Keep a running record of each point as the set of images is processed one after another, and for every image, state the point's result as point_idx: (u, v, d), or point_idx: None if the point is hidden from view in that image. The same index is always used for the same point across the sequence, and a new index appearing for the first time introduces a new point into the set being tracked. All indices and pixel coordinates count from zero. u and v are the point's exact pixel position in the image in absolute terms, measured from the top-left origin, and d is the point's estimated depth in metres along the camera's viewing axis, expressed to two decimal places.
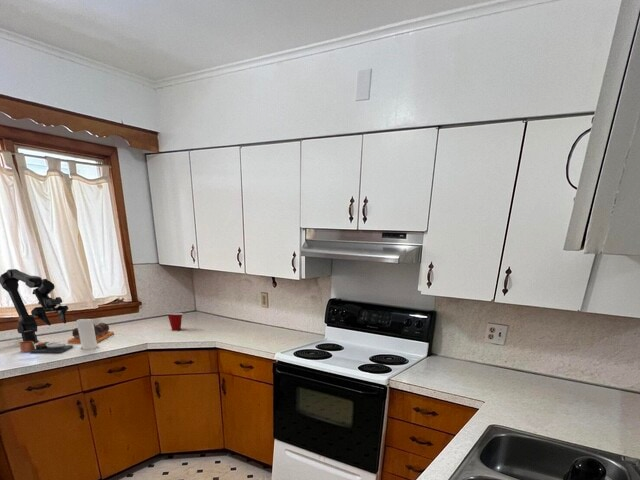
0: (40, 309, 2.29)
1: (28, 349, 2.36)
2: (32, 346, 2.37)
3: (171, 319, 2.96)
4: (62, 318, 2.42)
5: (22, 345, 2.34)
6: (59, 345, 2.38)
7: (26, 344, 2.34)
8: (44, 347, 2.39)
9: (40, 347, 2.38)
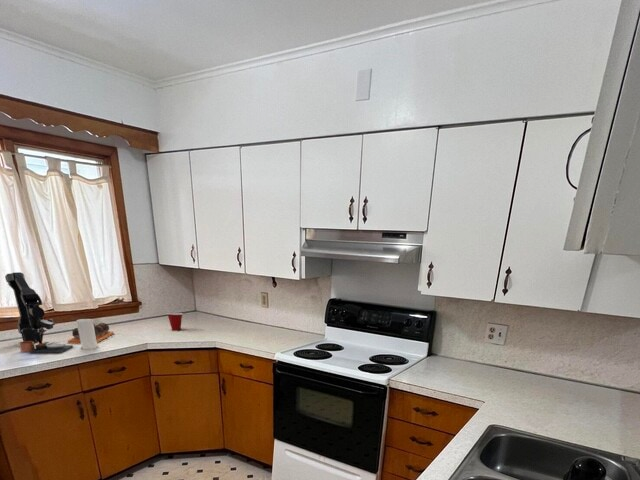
0: (35, 331, 2.30)
1: (28, 349, 2.36)
2: (32, 346, 2.37)
3: (171, 319, 2.96)
4: None
5: (22, 345, 2.34)
6: (59, 345, 2.38)
7: (26, 344, 2.34)
8: (44, 347, 2.39)
9: (40, 347, 2.38)
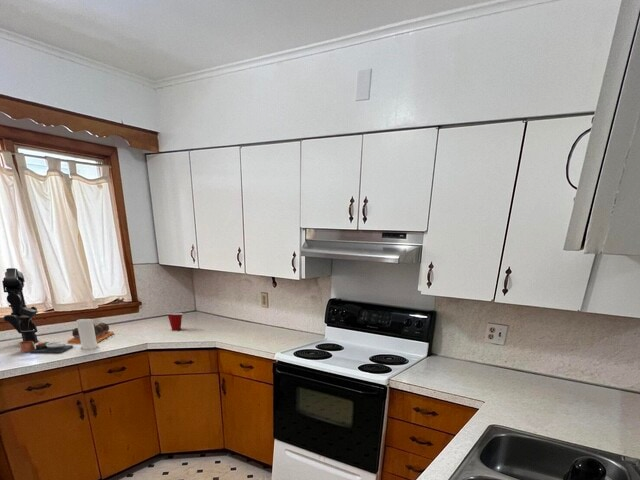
0: (17, 318, 2.25)
1: (28, 349, 2.36)
2: (32, 346, 2.37)
3: (171, 319, 2.96)
4: (25, 324, 2.36)
5: (22, 345, 2.34)
6: (59, 345, 2.38)
7: (26, 344, 2.34)
8: (44, 347, 2.39)
9: (40, 347, 2.38)
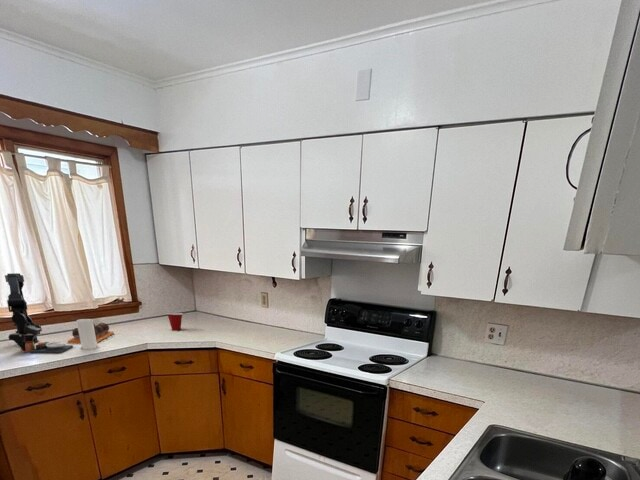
0: (22, 337, 2.29)
1: (28, 349, 2.36)
2: (32, 346, 2.37)
3: (171, 319, 2.96)
4: None
5: None
6: (59, 345, 2.38)
7: (26, 344, 2.34)
8: (44, 347, 2.39)
9: (40, 347, 2.38)
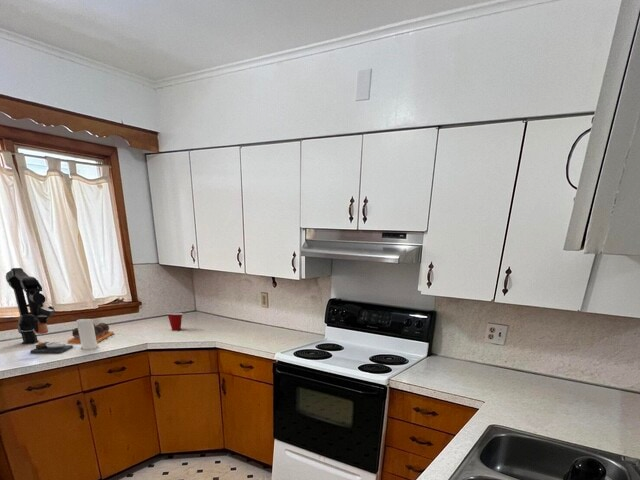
0: (35, 318, 2.26)
1: (41, 330, 2.33)
2: (45, 328, 2.35)
3: (171, 319, 2.96)
4: None
5: None
6: (59, 345, 2.38)
7: (39, 325, 2.32)
8: (44, 347, 2.39)
9: (40, 347, 2.38)
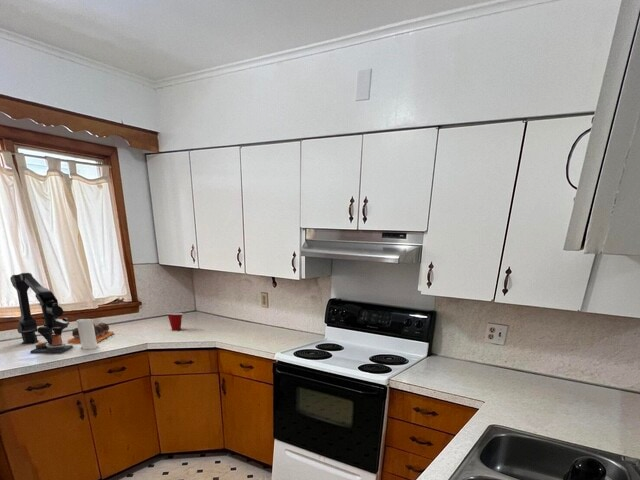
0: (50, 330, 2.30)
1: (56, 342, 2.37)
2: (59, 339, 2.39)
3: (171, 319, 2.96)
4: None
5: None
6: (59, 345, 2.38)
7: (54, 337, 2.36)
8: (44, 347, 2.39)
9: (40, 347, 2.38)
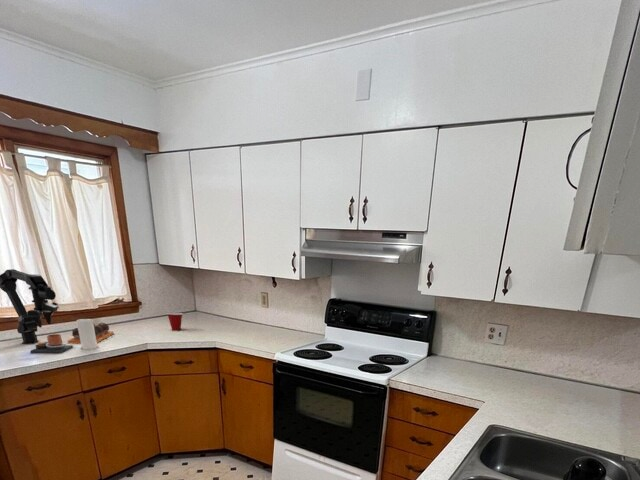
0: (40, 313, 2.37)
1: (56, 342, 2.37)
2: (59, 339, 2.39)
3: (171, 319, 2.96)
4: (47, 318, 2.49)
5: (50, 338, 2.36)
6: (59, 345, 2.38)
7: (54, 337, 2.36)
8: (44, 347, 2.39)
9: (40, 347, 2.38)
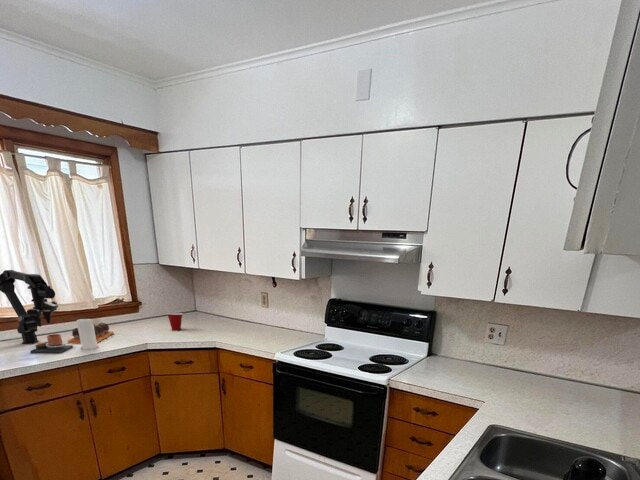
0: (39, 312, 2.37)
1: (56, 342, 2.37)
2: (59, 339, 2.39)
3: (171, 319, 2.96)
4: (47, 318, 2.50)
5: (50, 338, 2.36)
6: (59, 345, 2.38)
7: (54, 337, 2.36)
8: (44, 347, 2.39)
9: (40, 347, 2.38)
